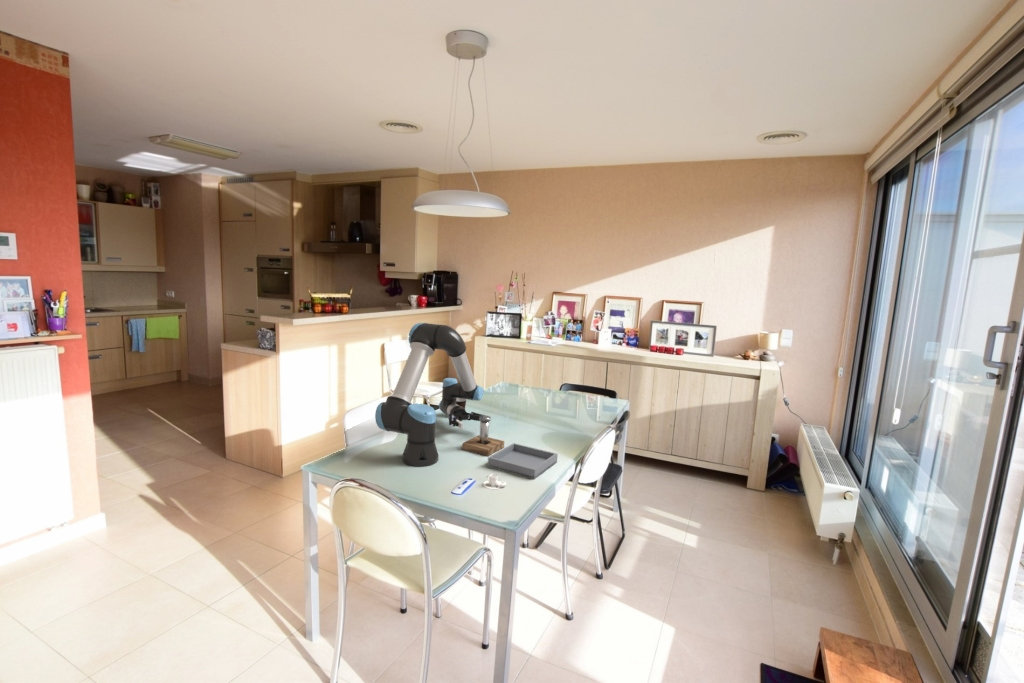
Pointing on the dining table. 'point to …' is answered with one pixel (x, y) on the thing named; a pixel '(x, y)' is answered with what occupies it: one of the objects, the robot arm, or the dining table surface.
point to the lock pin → (484, 429)
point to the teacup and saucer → (494, 482)
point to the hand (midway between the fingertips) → (475, 424)
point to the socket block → (483, 446)
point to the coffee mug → (461, 402)
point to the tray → (522, 460)
